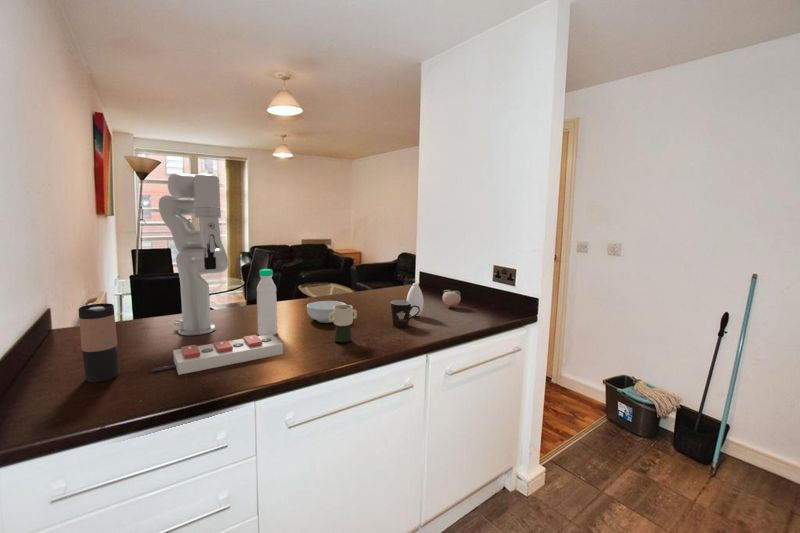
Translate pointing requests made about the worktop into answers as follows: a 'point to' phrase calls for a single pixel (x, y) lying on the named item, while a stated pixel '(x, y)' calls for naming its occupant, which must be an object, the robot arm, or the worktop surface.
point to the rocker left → (190, 351)
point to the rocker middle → (223, 346)
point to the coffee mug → (401, 313)
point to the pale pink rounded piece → (451, 298)
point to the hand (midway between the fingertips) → (210, 268)
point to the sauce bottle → (415, 299)
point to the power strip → (224, 355)
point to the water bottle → (266, 304)
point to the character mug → (342, 321)
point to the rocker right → (252, 340)
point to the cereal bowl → (322, 310)
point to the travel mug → (99, 341)
